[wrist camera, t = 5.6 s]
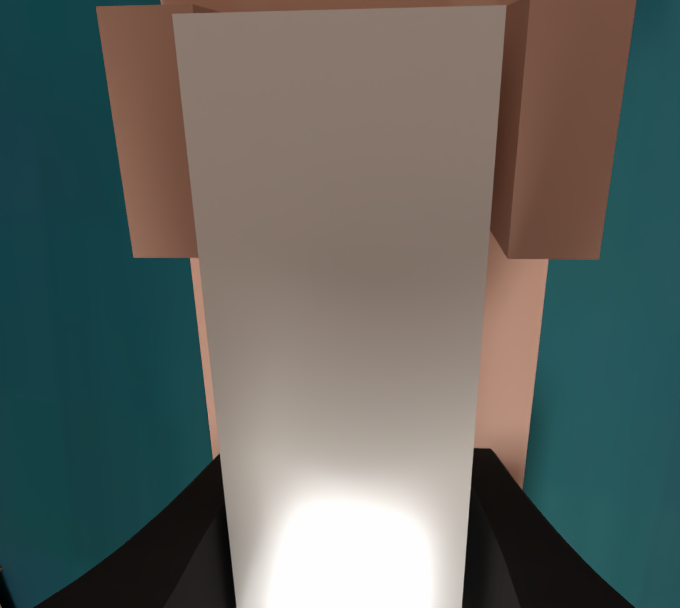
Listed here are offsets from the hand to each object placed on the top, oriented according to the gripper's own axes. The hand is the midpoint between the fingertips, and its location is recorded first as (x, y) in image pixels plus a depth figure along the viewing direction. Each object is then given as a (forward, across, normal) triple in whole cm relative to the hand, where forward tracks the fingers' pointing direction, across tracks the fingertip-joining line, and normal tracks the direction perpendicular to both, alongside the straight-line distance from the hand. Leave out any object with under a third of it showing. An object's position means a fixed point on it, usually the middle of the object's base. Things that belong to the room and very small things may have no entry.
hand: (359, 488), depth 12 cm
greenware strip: (+3, 0, 0) cm, 3 cm away
